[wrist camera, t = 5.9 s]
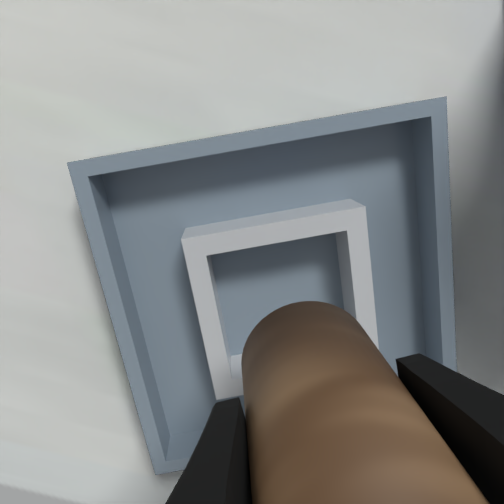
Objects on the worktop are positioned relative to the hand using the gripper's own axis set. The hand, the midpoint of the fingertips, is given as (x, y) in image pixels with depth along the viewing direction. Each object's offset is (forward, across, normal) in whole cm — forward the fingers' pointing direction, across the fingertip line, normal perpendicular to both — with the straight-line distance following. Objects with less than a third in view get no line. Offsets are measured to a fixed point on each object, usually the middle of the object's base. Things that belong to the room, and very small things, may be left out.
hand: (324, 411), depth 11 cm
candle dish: (+9, 0, 0) cm, 9 cm away
